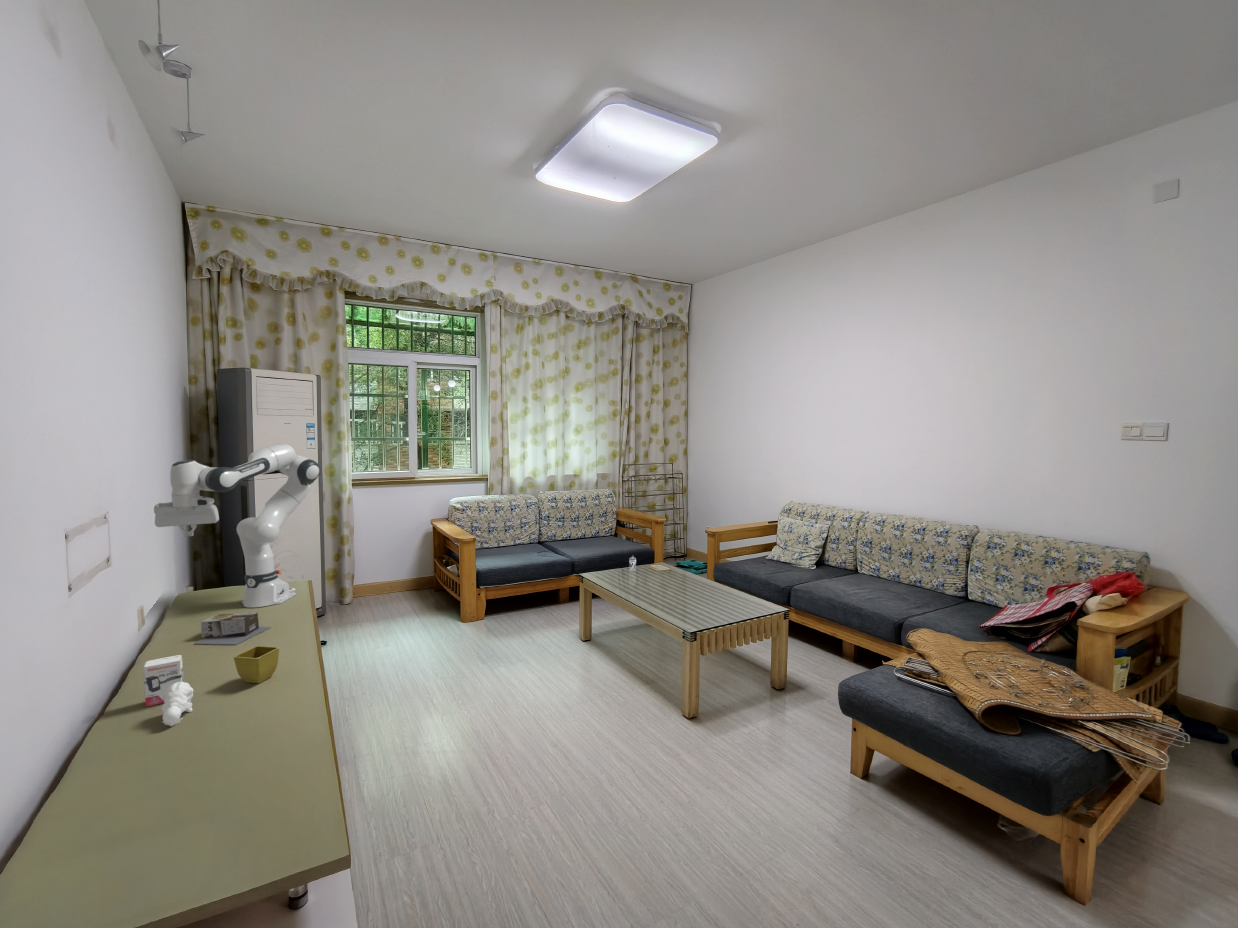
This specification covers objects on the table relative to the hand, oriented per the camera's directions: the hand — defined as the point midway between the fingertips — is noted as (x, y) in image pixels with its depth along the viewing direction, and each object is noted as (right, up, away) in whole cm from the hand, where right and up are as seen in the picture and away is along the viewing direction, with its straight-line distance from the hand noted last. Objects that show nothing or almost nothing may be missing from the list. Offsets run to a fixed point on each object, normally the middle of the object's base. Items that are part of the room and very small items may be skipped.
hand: (188, 536), depth 224 cm
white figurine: (+51, -41, -71) cm, 96 cm away
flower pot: (+58, -39, -48) cm, 85 cm away
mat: (+23, -37, -8) cm, 44 cm away
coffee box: (+12, -34, -7) cm, 37 cm away
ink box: (+39, -40, -60) cm, 82 cm away
